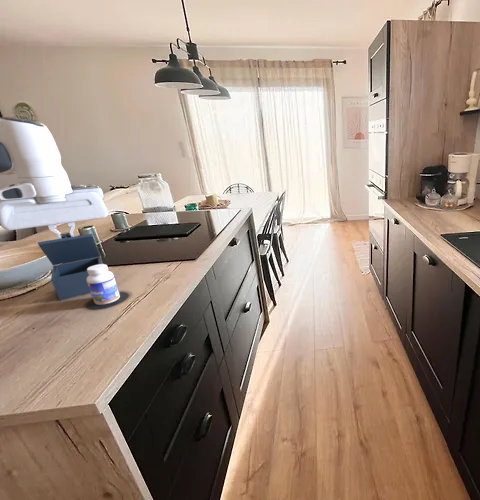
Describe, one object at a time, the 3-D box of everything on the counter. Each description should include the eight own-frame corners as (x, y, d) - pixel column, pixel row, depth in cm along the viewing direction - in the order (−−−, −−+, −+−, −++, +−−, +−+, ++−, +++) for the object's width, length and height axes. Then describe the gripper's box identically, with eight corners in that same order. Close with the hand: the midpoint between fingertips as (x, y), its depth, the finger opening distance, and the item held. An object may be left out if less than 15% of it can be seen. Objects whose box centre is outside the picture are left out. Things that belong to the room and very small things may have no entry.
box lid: (92, 236, 79) (91, 233, 80) (38, 244, 73) (37, 242, 73) (100, 256, 89) (99, 253, 89) (52, 265, 82) (52, 263, 82)
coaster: (80, 314, 71) (79, 312, 71) (94, 297, 79) (94, 295, 79) (123, 306, 74) (123, 305, 74) (133, 291, 82) (132, 289, 82)
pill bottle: (89, 304, 75) (76, 270, 71) (110, 293, 80) (99, 261, 76) (105, 306, 74) (93, 272, 70) (125, 296, 78) (115, 263, 75)
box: (110, 289, 83) (103, 267, 81) (60, 302, 77) (50, 279, 74) (107, 276, 91) (100, 256, 89) (61, 286, 85) (53, 265, 82)
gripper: (99, 182, 81) (114, 228, 86) (-10, 190, 69) (14, 244, 74) (101, 184, 77) (116, 233, 82) (-16, 194, 64) (10, 251, 69)
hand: (67, 239), depth 78 cm, fingers closed
